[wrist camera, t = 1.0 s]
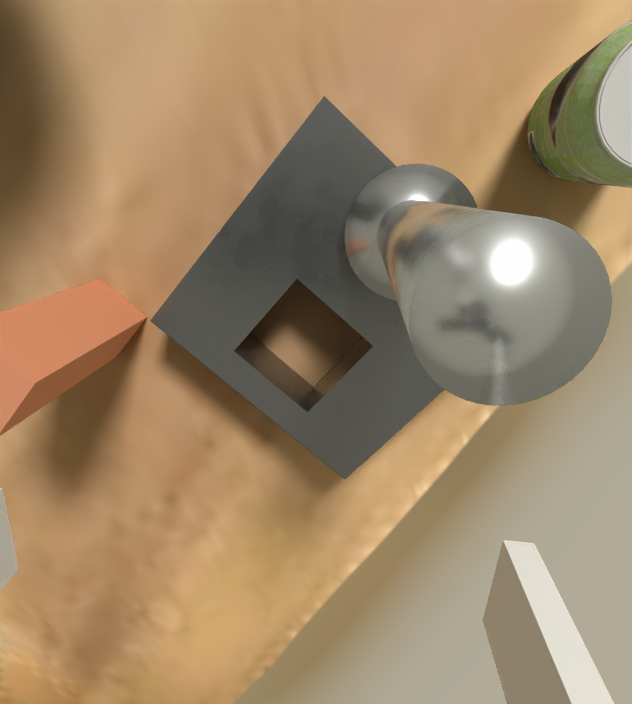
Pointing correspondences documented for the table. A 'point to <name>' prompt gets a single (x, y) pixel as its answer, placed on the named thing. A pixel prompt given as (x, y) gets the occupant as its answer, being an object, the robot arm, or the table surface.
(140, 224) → the table surface
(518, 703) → the robot arm
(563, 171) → the beverage can
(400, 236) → the socket base with post
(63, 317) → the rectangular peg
